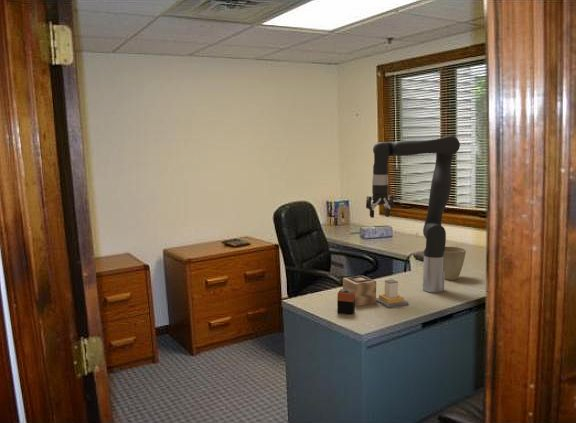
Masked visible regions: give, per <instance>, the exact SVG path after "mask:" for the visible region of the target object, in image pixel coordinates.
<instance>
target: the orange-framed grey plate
mask: <svg viewBox="0 0 576 423" xmlns="http://www.w3.org/2000/svg"><path fill="white" fill-rule="evenodd" d="M376 303H377V304H379V305H381V306H382V307H385V308H386V309H390V308H396V307H402V306H403V307H404V306H409V305H410V304H409V303H410V302H408V301H407V300H405V299H404V296H401V295H399V294H398V298H391V299H389V298H387V297H385V296H384V293H382V294H379V295H378V297H376Z"/></svg>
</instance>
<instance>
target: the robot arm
mask: <svg viewBox="0 0 576 423" xmlns="http://www.w3.org/2000/svg"><path fill="white" fill-rule="evenodd" d="M460 147H461V144H460V141H459V139H458V138H457V137H455V136H454V135H445V136H442V137H440V138H435V139H428V140H427V139H426V140H422V139H421V140H419V139H418V140H414V139H413V140H399V141H398V140H397V141H391V142H390V141H386V142H385V141H383V142H382V141H380V142H376V143H375V144H374V146H373V149H372V151H373V159H374V160H373V167H372V184H371V186H372V191H371V192H372V193H371V194H372V196H368V195H367V196H366V200H365V201H366V202H365V204H366V205H365V208H366V209H368V210H369V217H370V218H372V219H373V218H375V210H374V209H376V207H378V206H380V205H381V206H382V205H383V206H384V207H385V209H384V210H385V211H384V216H385V217H387V218H388V217H390V214H391V209H393V208H394V195H393V194H390V195H389V194H388V193H389V157H391V156H392V157H393V156H396V157H400V156H401V157H402V156H406V157H407V156H415V155H424V154H435V165H434V169H433V173H432V179H431V185H430V188H429V189H430V190H429V199H428V207H427V214H426V218H425V222H424V225H423V229H422V233H423V237H424V238H425V248H424V250H423V269H422V270H423V272H422V291H424V292H428V293H442V292H444V291H445V280H446V279H445V272H444V271H443V256H444V251H445V247H446V242H447V234H446V229H445V228H444V226H442V221H443V214H444V210H445V208H446V206H447V204H448V202H449V199H450V194H451V190H452V162H453V157H454V155H455V154H456V153H457V152H458V151H459V150H460Z"/></svg>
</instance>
